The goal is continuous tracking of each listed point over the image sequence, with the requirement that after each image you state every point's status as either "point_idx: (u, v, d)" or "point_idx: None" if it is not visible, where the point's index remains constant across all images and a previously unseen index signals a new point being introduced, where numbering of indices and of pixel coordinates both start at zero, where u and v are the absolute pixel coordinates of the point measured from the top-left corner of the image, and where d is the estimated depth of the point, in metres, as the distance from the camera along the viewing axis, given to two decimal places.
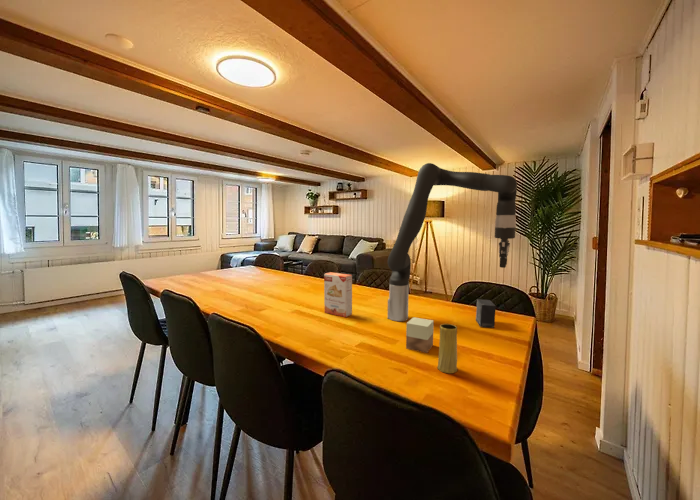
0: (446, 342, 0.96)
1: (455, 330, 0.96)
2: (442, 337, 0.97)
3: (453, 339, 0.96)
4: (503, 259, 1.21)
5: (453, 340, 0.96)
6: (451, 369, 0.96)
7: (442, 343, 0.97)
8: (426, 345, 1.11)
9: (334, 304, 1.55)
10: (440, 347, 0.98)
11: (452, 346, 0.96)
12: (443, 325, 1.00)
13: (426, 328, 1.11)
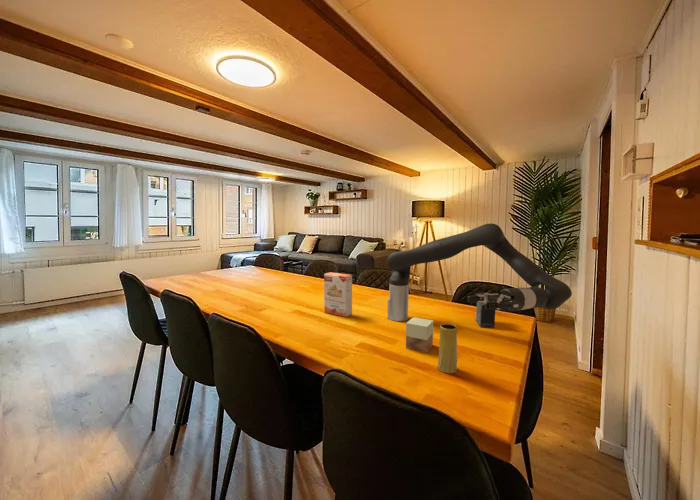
0: (446, 342, 0.96)
1: (455, 330, 0.96)
2: (442, 337, 0.97)
3: (453, 339, 0.96)
4: (496, 306, 0.96)
5: (453, 340, 0.96)
6: (451, 369, 0.96)
7: (442, 343, 0.97)
8: (426, 345, 1.11)
9: (334, 304, 1.55)
10: (440, 347, 0.98)
11: (452, 346, 0.96)
12: (443, 325, 1.00)
13: (425, 328, 1.11)
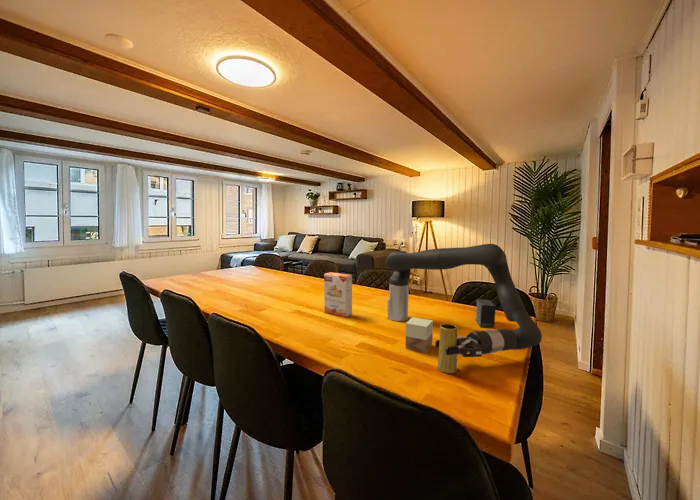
0: (446, 342, 0.96)
1: (455, 330, 0.96)
2: (442, 337, 0.97)
3: (453, 339, 0.96)
4: (457, 352, 0.95)
5: (453, 340, 0.96)
6: (451, 369, 0.96)
7: (442, 343, 0.97)
8: (425, 345, 1.11)
9: (334, 304, 1.55)
10: (440, 347, 0.98)
11: (452, 346, 0.96)
12: (443, 325, 1.00)
13: (425, 328, 1.11)
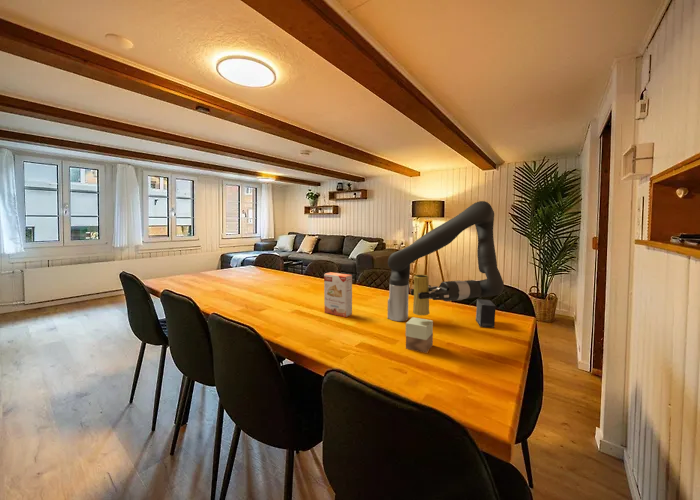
0: (419, 288, 1.12)
1: (426, 278, 1.12)
2: (416, 285, 1.13)
3: (425, 286, 1.12)
4: (428, 296, 1.11)
5: (425, 286, 1.12)
6: (423, 311, 1.13)
7: (416, 290, 1.13)
8: (426, 345, 1.11)
9: (334, 304, 1.55)
10: (414, 294, 1.14)
11: None
12: (417, 276, 1.16)
13: (425, 328, 1.11)
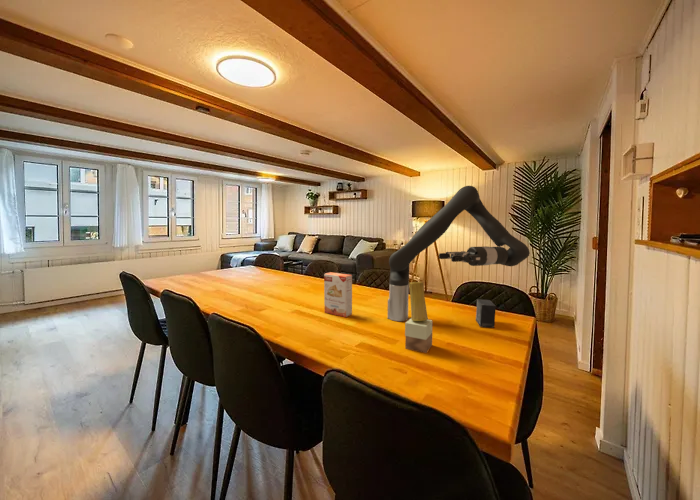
0: (414, 294, 1.15)
1: (420, 283, 1.15)
2: (410, 291, 1.16)
3: (419, 291, 1.14)
4: (461, 259, 1.12)
5: (419, 292, 1.14)
6: (420, 317, 1.13)
7: (411, 296, 1.16)
8: (425, 345, 1.11)
9: (334, 304, 1.55)
10: (411, 300, 1.17)
11: (418, 297, 1.14)
12: (413, 283, 1.20)
13: (425, 328, 1.11)
